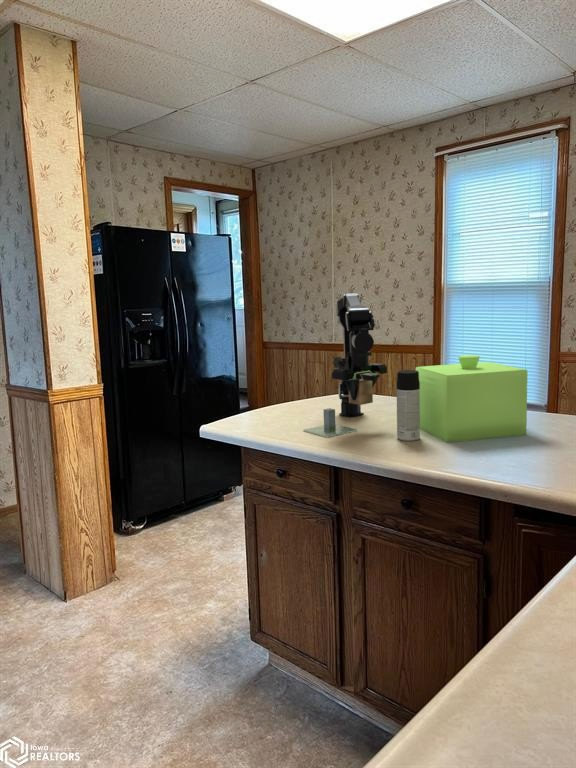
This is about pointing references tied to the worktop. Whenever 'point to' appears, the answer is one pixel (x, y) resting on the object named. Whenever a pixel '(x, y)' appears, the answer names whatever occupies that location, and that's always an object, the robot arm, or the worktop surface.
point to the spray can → (408, 405)
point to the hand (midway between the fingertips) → (360, 398)
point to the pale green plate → (329, 426)
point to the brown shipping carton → (363, 393)
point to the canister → (473, 400)
